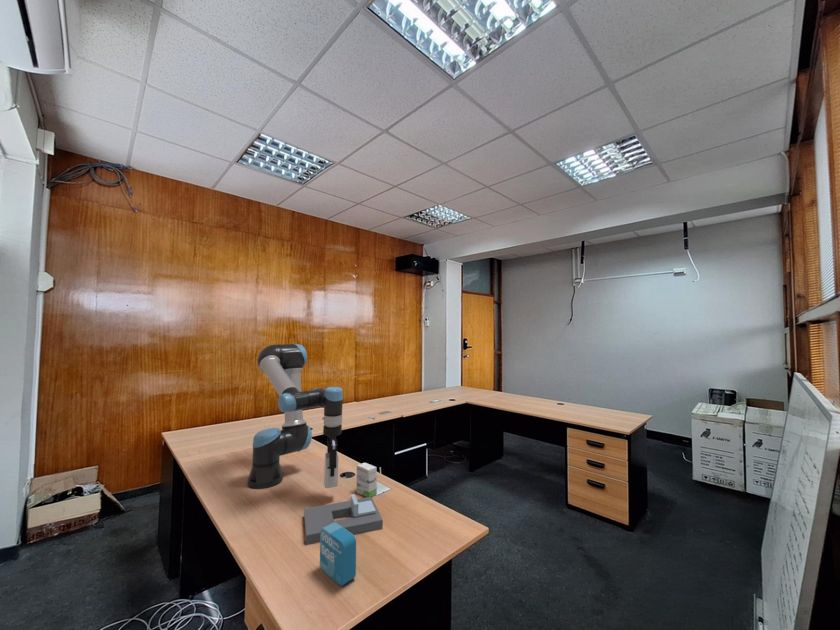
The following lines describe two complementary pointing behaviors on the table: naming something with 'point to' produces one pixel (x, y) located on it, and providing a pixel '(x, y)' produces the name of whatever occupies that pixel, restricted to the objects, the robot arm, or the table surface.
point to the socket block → (326, 514)
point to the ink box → (366, 480)
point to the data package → (338, 553)
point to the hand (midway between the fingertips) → (330, 480)
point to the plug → (328, 472)
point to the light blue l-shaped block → (361, 507)
